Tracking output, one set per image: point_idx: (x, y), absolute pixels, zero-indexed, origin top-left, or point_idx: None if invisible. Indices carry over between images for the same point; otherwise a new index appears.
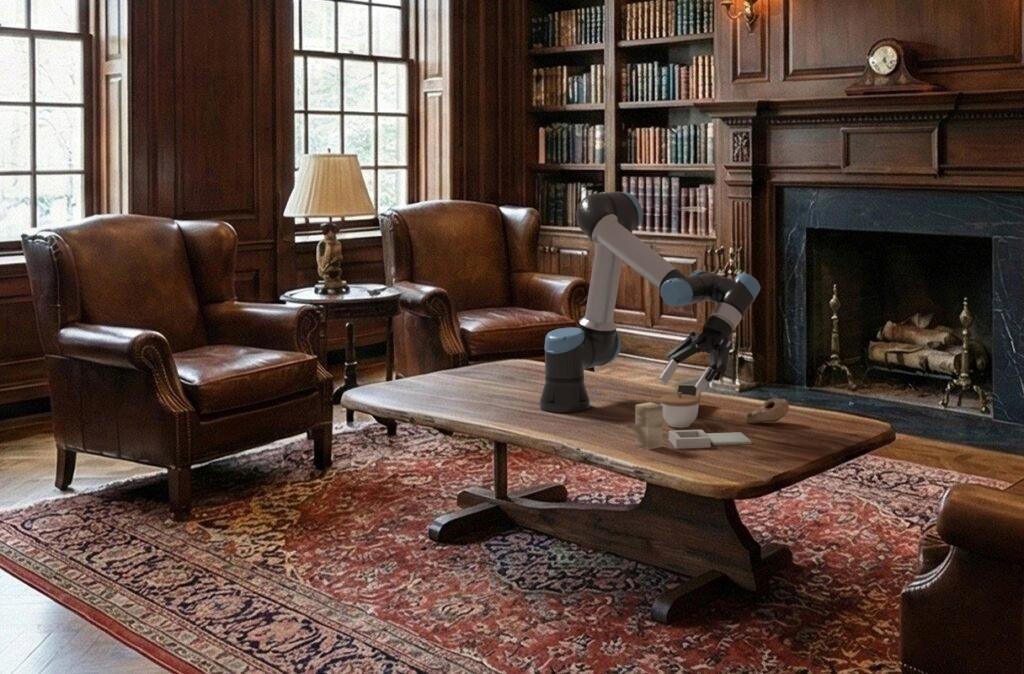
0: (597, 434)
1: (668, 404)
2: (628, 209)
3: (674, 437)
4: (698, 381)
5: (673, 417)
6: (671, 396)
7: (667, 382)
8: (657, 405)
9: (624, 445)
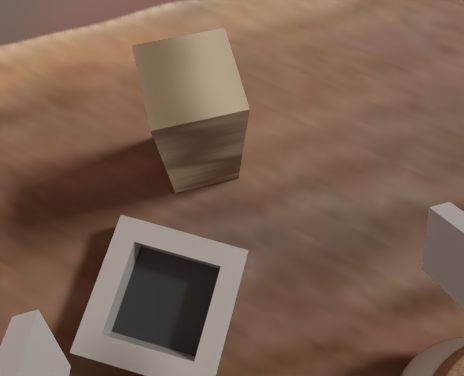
0: (392, 79)
1: (461, 348)
2: None
3: (152, 223)
4: (13, 357)
5: (412, 360)
6: None
7: (433, 279)
8: (164, 108)
9: None
